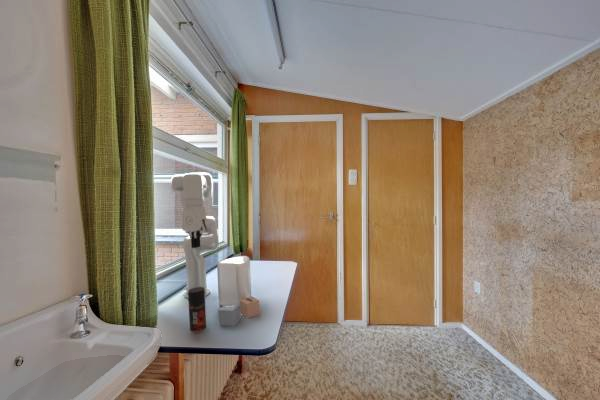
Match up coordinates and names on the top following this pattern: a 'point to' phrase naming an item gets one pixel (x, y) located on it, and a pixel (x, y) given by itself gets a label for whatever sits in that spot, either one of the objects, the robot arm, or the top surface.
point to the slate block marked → (229, 314)
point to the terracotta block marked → (249, 307)
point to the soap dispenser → (234, 280)
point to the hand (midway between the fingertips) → (196, 247)
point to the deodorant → (197, 309)
